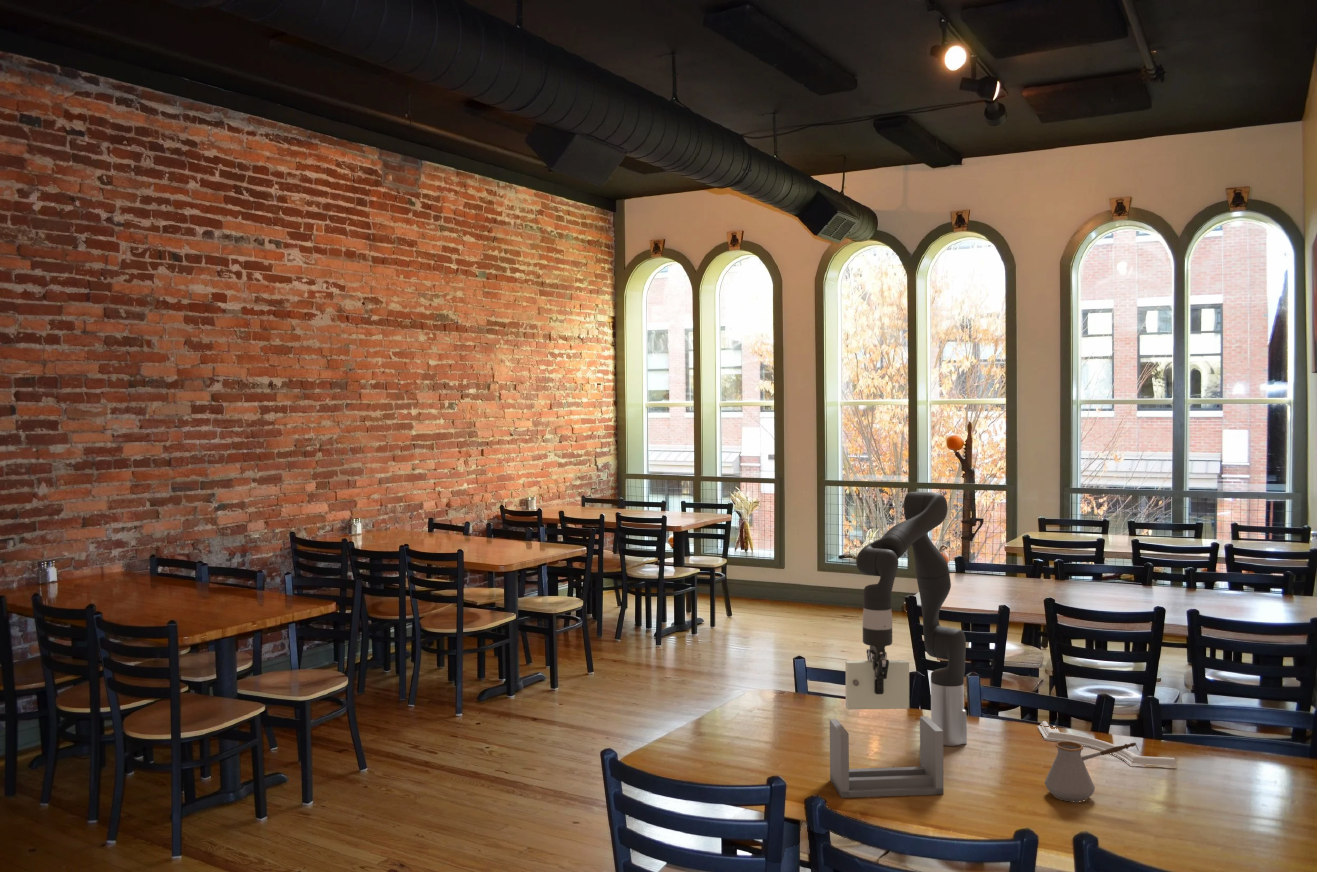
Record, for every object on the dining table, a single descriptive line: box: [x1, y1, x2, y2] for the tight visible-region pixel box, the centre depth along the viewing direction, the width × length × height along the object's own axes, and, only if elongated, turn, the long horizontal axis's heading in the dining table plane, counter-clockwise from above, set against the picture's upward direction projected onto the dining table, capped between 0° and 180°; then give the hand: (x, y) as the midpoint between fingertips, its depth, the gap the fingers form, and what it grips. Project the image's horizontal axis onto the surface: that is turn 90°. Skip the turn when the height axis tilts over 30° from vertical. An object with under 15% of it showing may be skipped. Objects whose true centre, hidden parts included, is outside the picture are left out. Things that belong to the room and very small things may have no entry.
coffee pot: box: [1044, 741, 1140, 803], centre depth 240 cm, size 21×12×15 cm, turn 70°
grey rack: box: [829, 716, 945, 799], centre depth 250 cm, size 26×12×16 cm, turn 93°
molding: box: [1037, 720, 1177, 766], centre depth 276 cm, size 42×12×3 cm, turn 33°
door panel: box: [845, 659, 910, 711], centre depth 252 cm, size 16×3×12 cm, turn 92°
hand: (877, 691), depth 252 cm, fingers closed on door panel, 2 cm apart
